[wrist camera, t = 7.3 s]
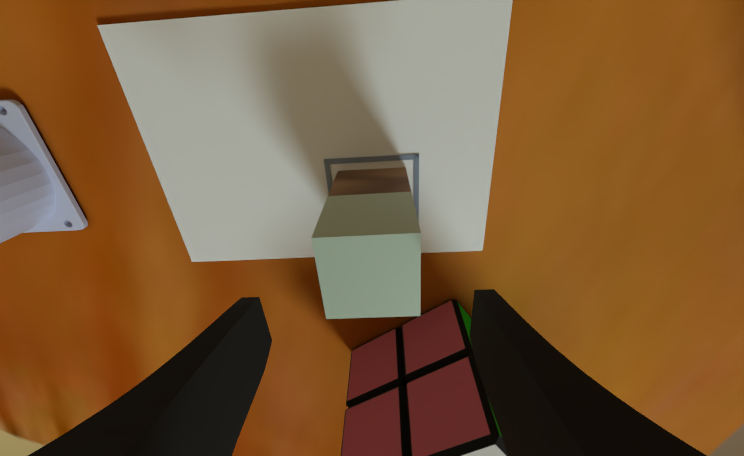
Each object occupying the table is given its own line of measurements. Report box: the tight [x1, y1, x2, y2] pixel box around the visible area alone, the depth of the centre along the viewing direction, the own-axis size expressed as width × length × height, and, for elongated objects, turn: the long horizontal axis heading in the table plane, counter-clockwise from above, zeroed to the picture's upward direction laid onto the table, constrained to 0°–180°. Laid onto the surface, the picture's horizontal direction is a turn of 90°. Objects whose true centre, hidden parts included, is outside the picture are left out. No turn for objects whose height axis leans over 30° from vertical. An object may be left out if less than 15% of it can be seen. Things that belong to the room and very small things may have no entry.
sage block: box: [311, 192, 421, 319], centre depth 14 cm, size 4×4×4 cm
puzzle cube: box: [341, 300, 508, 456], centre depth 22 cm, size 10×10×10 cm
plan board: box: [97, 0, 513, 262], centre depth 18 cm, size 20×14×1 cm
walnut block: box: [328, 167, 411, 196], centre depth 18 cm, size 4×4×4 cm
